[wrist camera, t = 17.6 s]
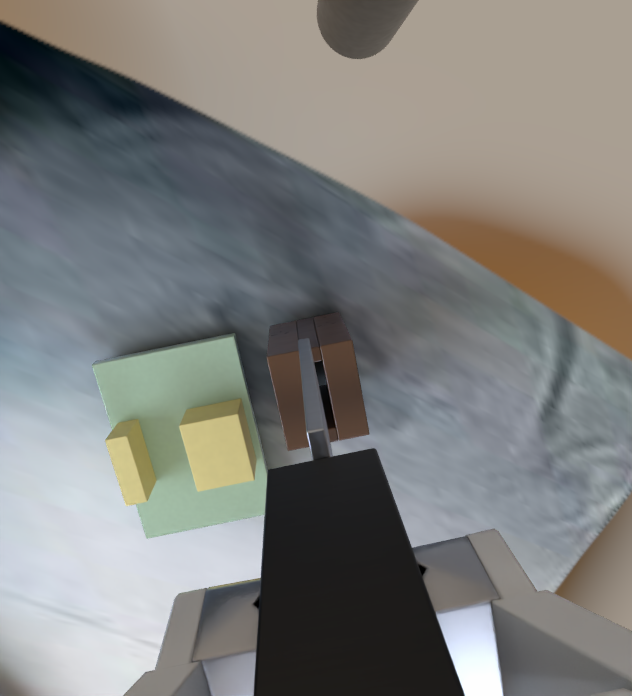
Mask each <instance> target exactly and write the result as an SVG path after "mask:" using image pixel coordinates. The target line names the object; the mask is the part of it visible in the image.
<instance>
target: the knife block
mask: <svg viewBox="0 0 632 696" xmlns="http://www.w3.org/2000/svg"><path fill="white" fill-rule="evenodd" d="M305 338H309V340H310V345H311V350H312V355H313V360H314V362H319V361H322V365H323V370H324V375H325V380H326V385H322V386H319V389H320V394H321V398H322V403H323V408H324V413H325V418H326V423H327V428H328V433H329V438H330V442H334V441H338V440H344V439H349V438H354V437H359V436H364V435H369V428H368V423H367V417H366V412H365V406H364V401H363V395H362V390H361V385H360V379H359V374H358V368H357V363H356V357H355V352H354V346H353V341H352V339H351V336H350V334H349V332H348V330H347V328H346V326H345V324H344V321H343V319H342V317H341V315H340V313H339V312H337V313H332V314H327V315H322V316H317V317H313V318H307V319H302V320H297V321H292V322H287V323H282V324H277V325H272V326H270V331H269V340H268V349H267V362H268V366H269V371H270V375H271V380H272V384H273V388H274V393H275V397H276V401H277V406H278V410H279V415H280V419H281V423H282V428H283V432H284V437H285V441H286V445H287V450H288V451H291V450H296V449H301V448H306V447H309V442H308V438H307V433H306V422H305V411H304V401H303V390H302V379H301V368H300V358H299V347H298V340H300V339H305Z"/></svg>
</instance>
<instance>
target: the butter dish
mask: <svg viewBox="0 0 632 696" xmlns="http://www.w3.org/2000/svg"><path fill="white" fill-rule="evenodd" d="M92 367H93V371H94V374H95V377H96V380H97V383H98V386H99V390H100V393H101V396H102V399H103V402H104V405H105V409H106V412H107V415H108V418H109V421H110V424H111V428H112V430H113V429H114V427H115V426H116V425H117V423H120V422H125V421H130V420H135V419H138V420H139V423H140V427H141V430H142V433H143V437H144V440H145V443H146V447H147V450H148V453H149V457H150V460H151V463H152V467H153V470H154V473H155V477H156V480H157V481H156V483H155V486H154V488H153V490H152V492H151V494H150V497H149V499H148V501H147V502H144V503H139V504H136V507H137V510H138V513H139V516H140V519H141V522H142V526H143V529H144V532H145V535H146V538H147V539H148V538H153V537H157V536H162V535H167V534H172V533H177V532H182V531H187V530H192V529H197V528H202V527H207V526H212V525H217V524H222V523H226V522H231V521H236V520H241V519H246V518H251V517H256V516H261V515H265V501H266V485H267V472H268V468H267V464H266V460H265V456H264V452H263V448H262V443H261V439H260V435H259V431H258V427H257V423H256V418H255V414H254V410H253V406H252V402H251V398H250V393H249V389H248V385H247V381H246V377H245V373H244V369H243V364H242V360H241V356H240V352H239V348H238V344H237V339H236V335H235V333H233V334H228V335H223V336H218V337H213V338H208V339H203V340H198V341H193V342H188V343H183V344H178V345H173V346H168V347H164V348H159V349H154V350H149V351H144V352H139V353H134V354H129V355H124V356H119V357H114V358H109V359H104V360H99V361H96V362H95V363H94V364H93V365H92ZM240 398H241V399H242V403H243V407H244V411H245V415H246V419H247V423H248V427H249V431H250V435H251V439H252V444H253V448H254V452H255V456H256V460H257V462H256V471H255V480H254V481H249V482H244V483H239V484H234V485H229V486H224V487H219V488H214V489H209V490H204V491H199V492H198V491H197V488H196V485H195V481H194V478H193V474H192V471H191V467H190V463H189V460H188V456H187V453H186V449H185V446H184V442H183V439H182V435H181V431H180V428H179V425H180V423H181V420H182V418H183V416H184V414H185V412H186V410H187V409H191V408H196V407H201V406H206V405H211V404H216V403H221V402H225V401H230V400H235V399H240Z"/></svg>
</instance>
